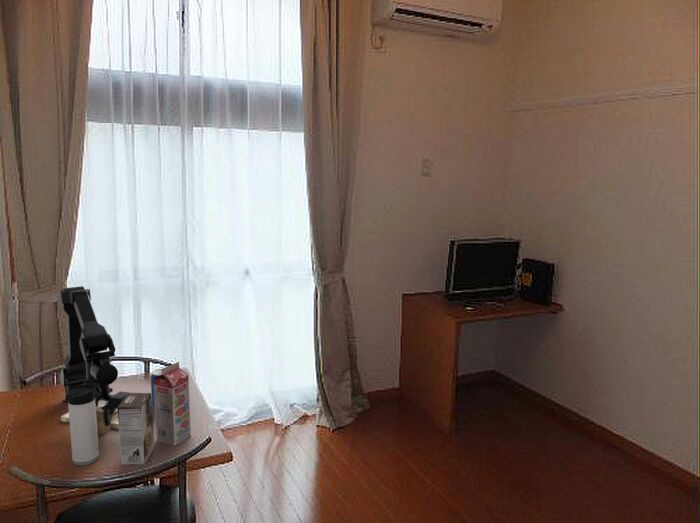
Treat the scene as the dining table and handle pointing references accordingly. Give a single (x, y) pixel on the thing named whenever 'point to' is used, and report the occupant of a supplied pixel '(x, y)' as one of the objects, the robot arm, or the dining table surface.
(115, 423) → the board
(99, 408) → the block
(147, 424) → the coffee box
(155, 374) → the beverage can
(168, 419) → the milk carton
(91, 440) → the travel mug
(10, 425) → the dining table surface
